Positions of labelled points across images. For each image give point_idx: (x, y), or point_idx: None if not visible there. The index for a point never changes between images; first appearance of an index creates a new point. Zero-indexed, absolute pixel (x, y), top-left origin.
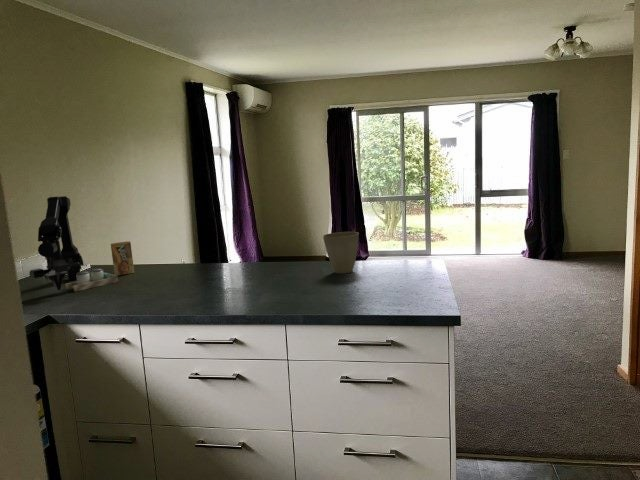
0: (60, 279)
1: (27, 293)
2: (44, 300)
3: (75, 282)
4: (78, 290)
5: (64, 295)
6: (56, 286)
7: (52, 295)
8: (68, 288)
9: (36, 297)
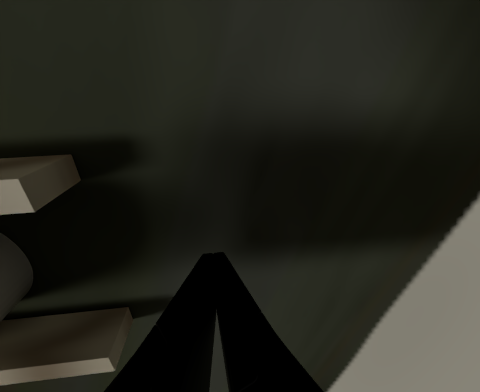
0: (165, 373)
1: (329, 384)
2: (448, 40)
3: (12, 366)
4: (23, 158)
5: (214, 73)
6: (240, 282)
7: (285, 209)
8: (113, 314)
9: (377, 254)
